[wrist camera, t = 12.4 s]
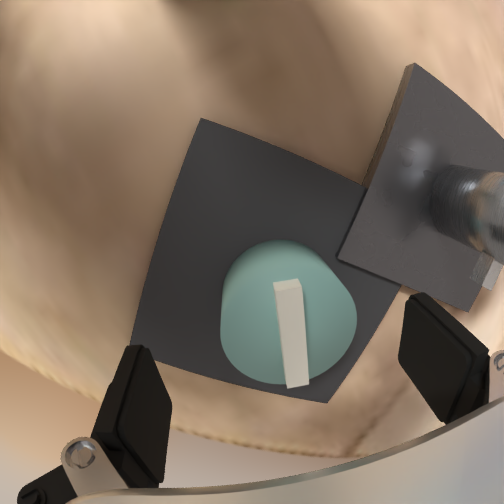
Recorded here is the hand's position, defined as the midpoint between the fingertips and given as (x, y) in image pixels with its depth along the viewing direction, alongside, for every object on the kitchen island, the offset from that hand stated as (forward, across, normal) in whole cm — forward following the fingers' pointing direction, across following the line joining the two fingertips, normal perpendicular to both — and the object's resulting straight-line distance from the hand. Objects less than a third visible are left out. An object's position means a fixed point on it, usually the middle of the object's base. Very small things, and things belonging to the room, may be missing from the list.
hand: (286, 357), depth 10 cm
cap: (+6, -1, +1) cm, 7 cm away
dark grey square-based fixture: (+7, -12, -3) cm, 14 cm away
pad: (+7, -1, +1) cm, 7 cm away
